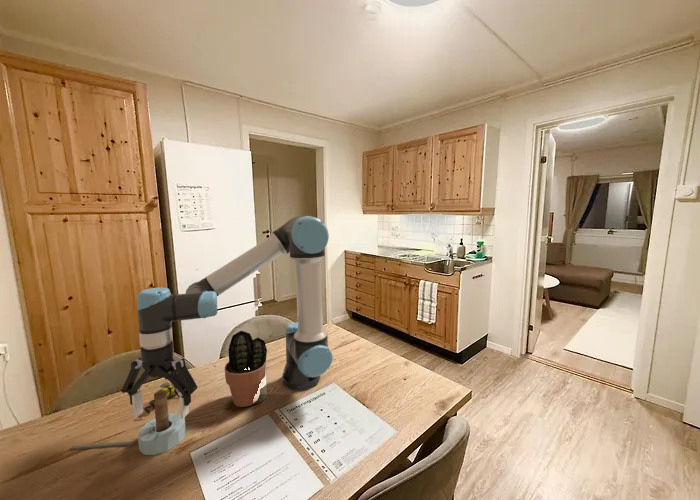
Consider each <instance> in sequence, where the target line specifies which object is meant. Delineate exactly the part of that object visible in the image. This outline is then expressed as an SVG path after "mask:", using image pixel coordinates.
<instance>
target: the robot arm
mask: <svg viewBox="0 0 700 500" xmlns="http://www.w3.org/2000/svg"><path fill="white" fill-rule="evenodd" d="M329 234H330V233H329V230H328V228H327V225H326V224H325V223H324V222H323V221H322V220H321V219H319V218H318V217H315V216H311V215H305V216H304V215H303V216H295V217H293V218H290V219H289V220H288V221H286V222H285V223H284V224H282V225H281V226H279V227H278V228H277V229H275V230H274V231H272V232H271V233H270V236H269V237H268V238H266V239H265V240H263V241H261V242H260V243H258V244H257V245H255V246H254V247H252V248H250V249H248V250H247V251H245V252H244V253H241V255H239V256H237V257H236V258H234V259H232V260H231V261H230V262H228V263H226V264H224V265H223V266H220V268H218V269H217V270H214V271H213V272H212V273H210V274H208V275H207V276H205V277H204V278H202V279H201V280H199V281H196V282H193V283H191V284H190V285H189V286H188V287H187V288H186V291H185V293H178V294H174V293H173V294H172V293H171V290H170V288H168V287H151V288H147V289H143V290H141V291H140V292H139V293H138V294H137V296H136V298H137V301H136V302H137V303H136V304H137V308H136V311H137V320H138V333H139V334H138V336H139V346H140V357H138V358H137V359H135V360H133V361H132V362H131V363H130V370H129V373H128V375H127V377H126V379H125V382H124V384H123V386H122V388H121V393H122V394H125V393H127V394H128V396H129V404H130V405H131V406H132V417H133V418H137V417H139V416H140V415H141V414H142V413H143V412H144V403H143V402H144V401H143V392H142V391H143V390H141V387H142V386H143V384H144V383H146V381H147V379H148V378H149V377H150V378H155V377H158V378H164V379H165V380H167V381H168V382H170V384H173V385H174V387H175V388H176V389H177V390H178V391H179V393H180V394H181V395H179V396H180V398H179V408H180V409H179V411H180V414H181V419H184V417H185V418H186V416H187V415H188V414H189V413H190V404H191V402H192V394H193V393H195V391H196V390H197V389H198V385H197V383H196V382H195V380H194V377H193V376H192V374H191V373H190V371H189V369H188V368H187V365H186V361H185V358H180V359H179V360H174V357H173V356H174V343H173V324H172V323H173V322H180V321H189V320H197V319H206V318H209V317H215V316H217V314H218V296H220V295H222V294H223V293H224V292H226V291H227V290H229V289H231V288H232V287H234V286H235V285H236V284H238V283H240V282H241V281H243V280H245V279H246V278H248V277H249V276H251V275H252V274H254V273H255V272H256V271H257V272H258V270H260V269H261V268H263V267H264V266H266V265H267V264H269V263H271V262H272V261H274V260H276V259H277V258H278V257H280V256H281V255H284V256H285V255H288V254H289V259H291V260H292V261H293V263H294V269H295V270H294V271H295V273H294V274H295V291H296V292H295V293H296V311H297V312H296V313H297V314H296V315H297V317H296V318H297V322H292V323H289V324H287V325H286V328H285V333H284V334H285V359H286V360H285V365H284V369H283V371H282V375H281V384H282V385H283V387H285V388H287V389H289V390H293V391H304V389H305V390H308V388H309V389H312V388H314V387H315V386H316V384H317V383H318V382H319V383H320V381H321V376H322V375H323V374H325V373H326V372H327V371H328V369H329V368H331V366H332V364H333V358H334V355H333V353H332V350H331V348H330V347H329V343H328V342H329V338H328V331H327V330H326V329H325V328H324V324H323V323H324V319H323V295H322V294H323V293H322V291H323V290H322V267H321V264H322V263H321V261H322V260H323V259H324V258H325V255H326V254H325V253H326V252H325V251H326V247H327V245H328V242H329V239H330V238H329V236H330V235H329ZM141 368H142V369H144V372H143V373H142V374H141V375H140V377H139V378H138V379H137V377H138V376H139V372H140V371H141ZM169 372H170V373H169ZM136 380H137V381H136ZM319 380H320V381H319ZM319 383H318V384H319ZM318 384H317V385H318ZM314 385H315V386H314ZM313 386H314V387H313ZM311 387H312V388H311Z"/></svg>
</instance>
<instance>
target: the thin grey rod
mask: <svg viewBox="0 0 700 500" xmlns="http://www.w3.org/2000/svg"><path fill="white" fill-rule="evenodd" d="M135 443H136V441H135V440H132V441H131V440H129V441H121V442H120V441H119V442H109V443H106V442H105V443H94V444H83V445H82V444H80V445H72V446H71V447H69V449H70V451H74V450H87V449H98V448H100V449H102V448H112V447H122V446H123V447H124V446H133V445H135Z"/></svg>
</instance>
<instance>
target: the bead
mask: <svg viewBox="0 0 700 500" xmlns="http://www.w3.org/2000/svg"><path fill="white" fill-rule="evenodd" d="M168 421H169V428H168V429H166V430H165V431H162V432H156V418H152V419H151V420H149V421H147V422H146V423H145V424H144V425H143V426H142V427H141V428H140V429H139V431H138V436H137V440H138V441H137V442H138V451H139V452H140V453H142V455H144V456H145V455H146V456H156V455H159V454H161V453H165V452H168V451H169V450H171V449H173V448H174V447H175V446H178V445H179V444H180V443H181V442H182V440H183V439H184V438H185V436H186V416H185V417H184V419H181V413H176V412H175V413H174V412H173V413H172V412H171V413H170V412H168Z"/></svg>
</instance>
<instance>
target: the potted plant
mask: <svg viewBox="0 0 700 500" xmlns="http://www.w3.org/2000/svg"><path fill="white" fill-rule="evenodd" d="M267 353H268V349H267V345H266V341H265V340H264V339H262V338H260V337H258V336H257V337H256V338H255V339H253V337H252V336H251V333H249V332H247V331H243V330H240V331H238V332H235V334H233V335H232V336H231V339H230V343H229V345H228V362H227V363H226V364H225V366H224V376H225V382H226V383H225V384H227V385H228V386H229V387H228V388H229V390H230V394H231V397H232V401H233V404H234V405H235V406H237V407H241V408H243V407H249V406H253V405H254V404H255V403H253V399H254V396H255V394H257V391H258V388H259V384H260V383H261V380H262V379H263V380H264V379H265V377H266V373H267V372H266V371H267V369H266V367H267V364H266V363H267ZM248 367H249V368H250V370H248ZM245 368H246V369H247V370H244V369H245Z"/></svg>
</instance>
